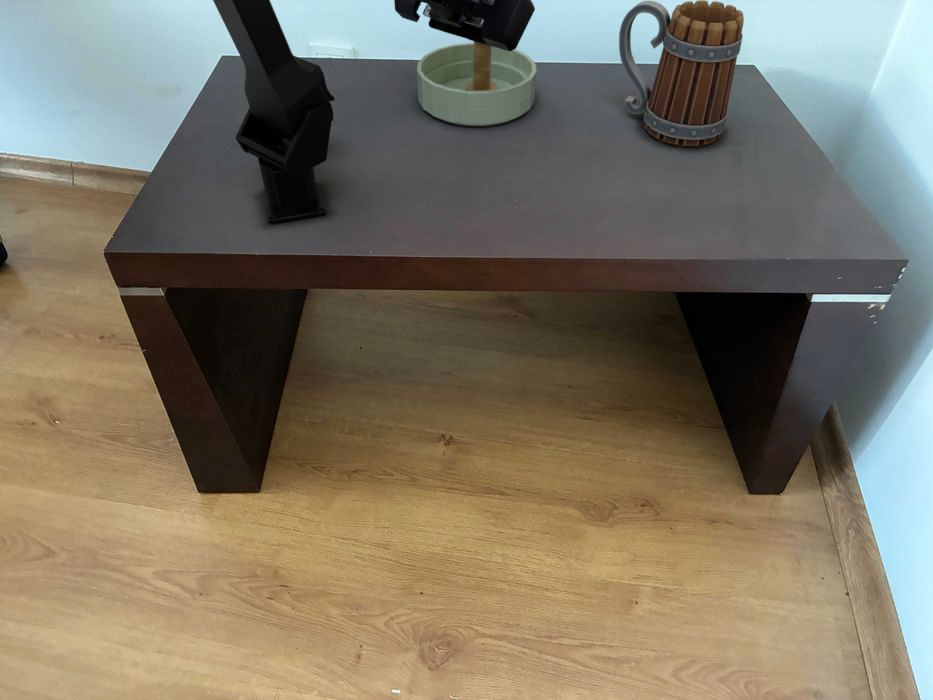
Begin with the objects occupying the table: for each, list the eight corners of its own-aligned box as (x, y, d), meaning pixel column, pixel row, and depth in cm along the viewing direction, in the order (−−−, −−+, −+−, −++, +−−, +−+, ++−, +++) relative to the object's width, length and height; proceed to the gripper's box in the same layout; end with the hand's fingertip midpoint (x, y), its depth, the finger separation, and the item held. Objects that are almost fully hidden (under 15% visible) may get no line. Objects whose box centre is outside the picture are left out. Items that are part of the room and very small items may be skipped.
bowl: (551, 119, 97) (554, 83, 93) (436, 136, 93) (435, 99, 90) (510, 71, 108) (512, 37, 104) (406, 84, 104) (404, 50, 101)
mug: (732, 123, 96) (765, 6, 86) (709, 157, 90) (741, 35, 79) (623, 96, 102) (642, -16, 91) (594, 127, 95) (610, 9, 85)
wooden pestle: (501, 90, 101) (505, -16, 91) (490, 103, 98) (494, -5, 88) (472, 85, 102) (473, -20, 92) (461, 98, 99) (461, -10, 89)
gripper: (531, -81, 77) (575, 0, 91) (404, -108, 85) (461, -30, 99) (485, 15, 78) (535, 81, 92) (363, -21, 86) (426, 45, 100)
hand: (488, 41), depth 96 cm, fingers closed on wooden pestle, 2 cm apart
